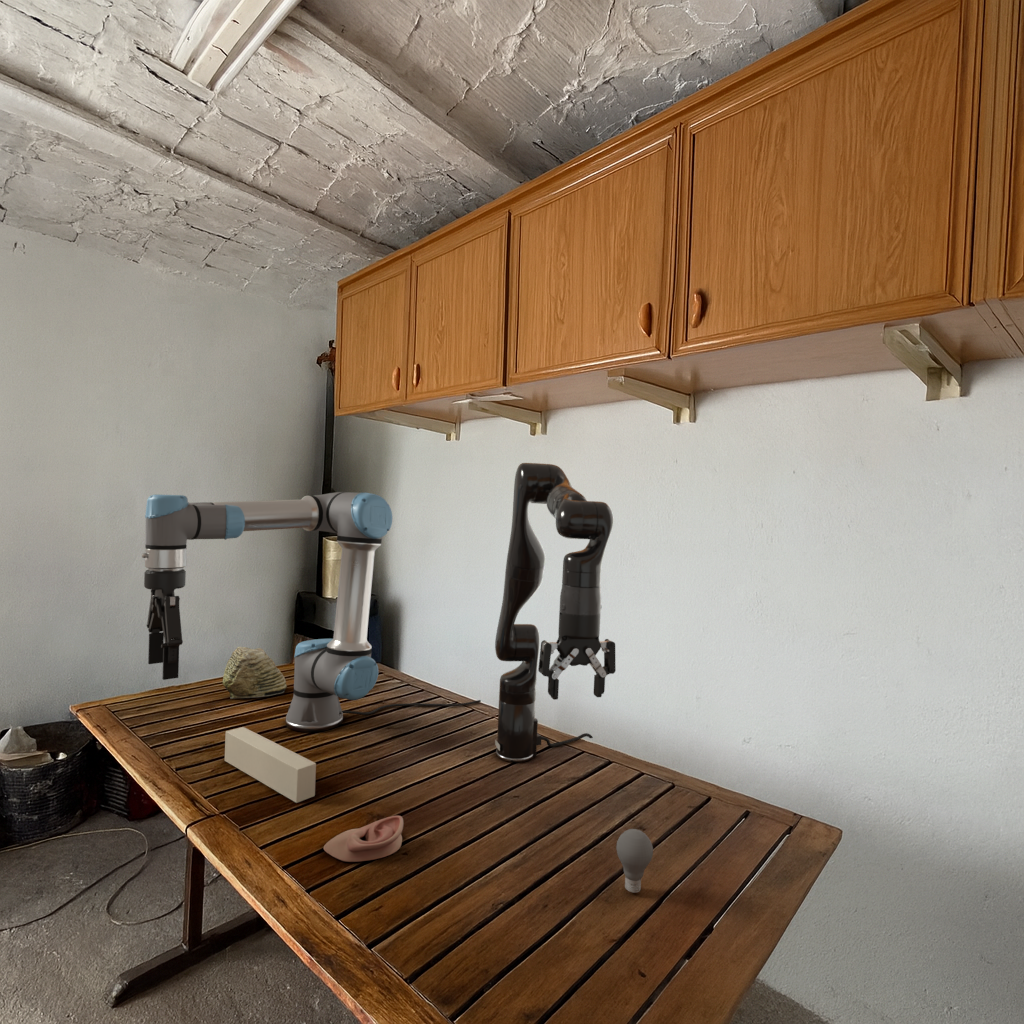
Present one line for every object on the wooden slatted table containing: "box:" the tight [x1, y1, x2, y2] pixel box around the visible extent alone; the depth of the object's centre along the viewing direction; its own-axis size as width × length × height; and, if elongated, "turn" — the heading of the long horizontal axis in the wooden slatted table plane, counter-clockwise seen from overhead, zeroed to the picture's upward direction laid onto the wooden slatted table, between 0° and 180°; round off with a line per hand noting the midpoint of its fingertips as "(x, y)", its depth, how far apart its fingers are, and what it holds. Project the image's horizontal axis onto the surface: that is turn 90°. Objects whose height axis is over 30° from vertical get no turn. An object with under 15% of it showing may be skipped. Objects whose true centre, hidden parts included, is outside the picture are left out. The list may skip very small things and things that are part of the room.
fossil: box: [222, 646, 288, 699], centre depth 198 cm, size 9×18×15 cm, turn 132°
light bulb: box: [615, 828, 654, 894], centre depth 106 cm, size 6×6×10 cm
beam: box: [224, 726, 317, 804], centre depth 142 cm, size 30×4×7 cm, turn 51°
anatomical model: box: [323, 815, 404, 863], centre depth 116 cm, size 13×4×12 cm
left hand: (162, 670), depth 132 cm, fingers open, 13 cm apart
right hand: (575, 697), depth 116 cm, fingers open, 8 cm apart
